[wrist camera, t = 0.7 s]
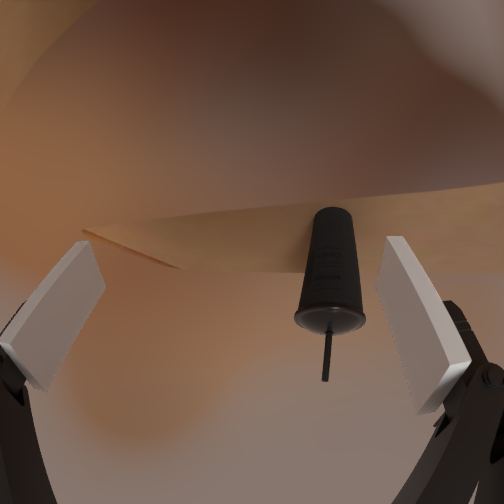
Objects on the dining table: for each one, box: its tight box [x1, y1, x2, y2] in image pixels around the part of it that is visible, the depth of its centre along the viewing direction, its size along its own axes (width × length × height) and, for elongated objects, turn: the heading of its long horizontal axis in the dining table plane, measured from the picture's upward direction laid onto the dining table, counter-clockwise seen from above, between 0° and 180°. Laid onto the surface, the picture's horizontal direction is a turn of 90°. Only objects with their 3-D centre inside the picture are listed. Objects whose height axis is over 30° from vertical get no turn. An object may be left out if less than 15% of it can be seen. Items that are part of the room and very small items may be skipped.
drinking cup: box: [294, 207, 366, 382], centre depth 33 cm, size 8×8×20 cm
